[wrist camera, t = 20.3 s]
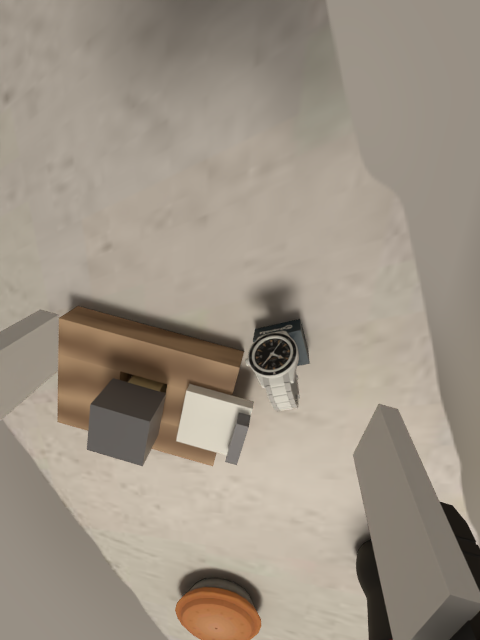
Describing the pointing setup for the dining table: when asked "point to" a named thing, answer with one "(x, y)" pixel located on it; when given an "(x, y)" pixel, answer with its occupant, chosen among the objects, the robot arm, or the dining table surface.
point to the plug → (126, 419)
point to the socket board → (138, 369)
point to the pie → (218, 611)
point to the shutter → (214, 421)
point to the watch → (279, 361)
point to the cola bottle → (373, 593)
